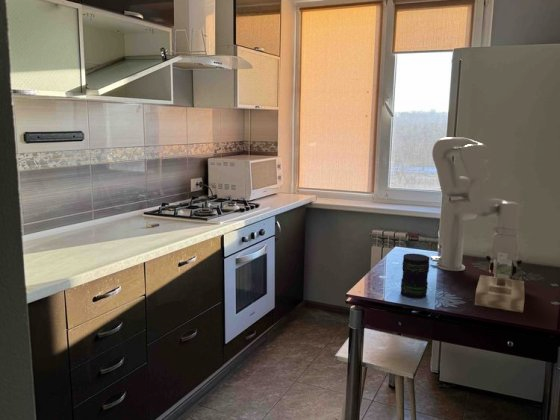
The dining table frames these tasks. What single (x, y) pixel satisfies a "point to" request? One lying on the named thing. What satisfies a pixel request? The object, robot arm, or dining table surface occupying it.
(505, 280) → the socket block
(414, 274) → the storage jar
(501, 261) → the syrup box
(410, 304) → the dining table surface
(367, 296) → the dining table surface
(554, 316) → the dining table surface
